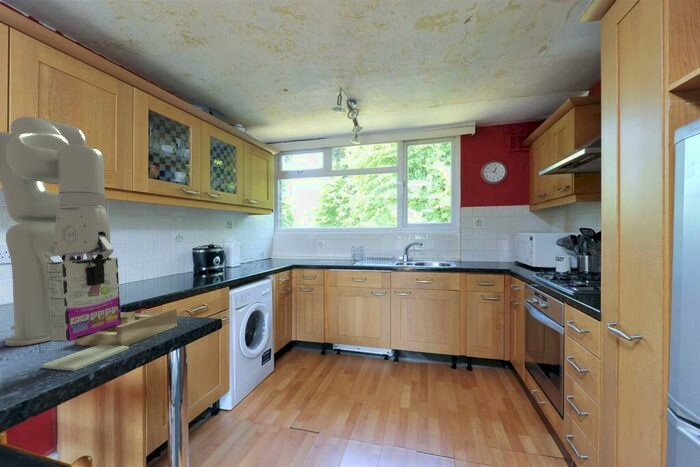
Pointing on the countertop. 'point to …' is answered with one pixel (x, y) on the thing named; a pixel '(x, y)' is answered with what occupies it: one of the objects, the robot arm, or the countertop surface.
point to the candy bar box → (82, 300)
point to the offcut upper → (127, 318)
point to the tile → (85, 357)
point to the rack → (133, 330)
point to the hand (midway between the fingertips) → (85, 283)
